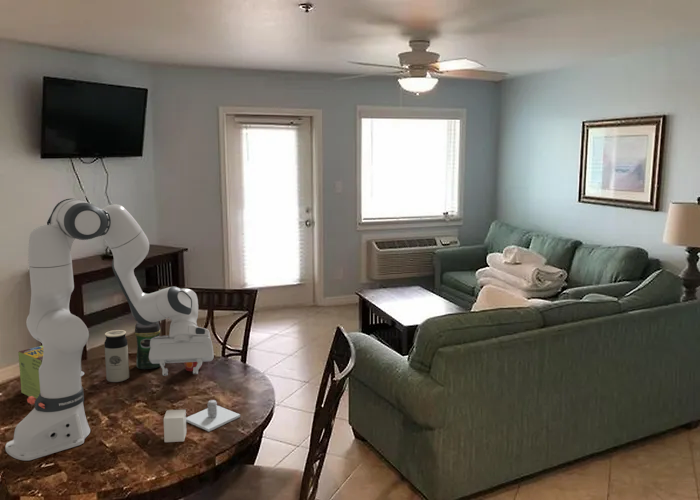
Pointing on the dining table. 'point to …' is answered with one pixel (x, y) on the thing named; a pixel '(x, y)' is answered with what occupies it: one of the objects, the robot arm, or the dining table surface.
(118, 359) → the travel mug
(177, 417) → the cream rectangular block
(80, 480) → the dining table surface
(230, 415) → the stud board
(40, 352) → the protein box
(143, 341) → the coffee jar
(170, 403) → the dining table surface
